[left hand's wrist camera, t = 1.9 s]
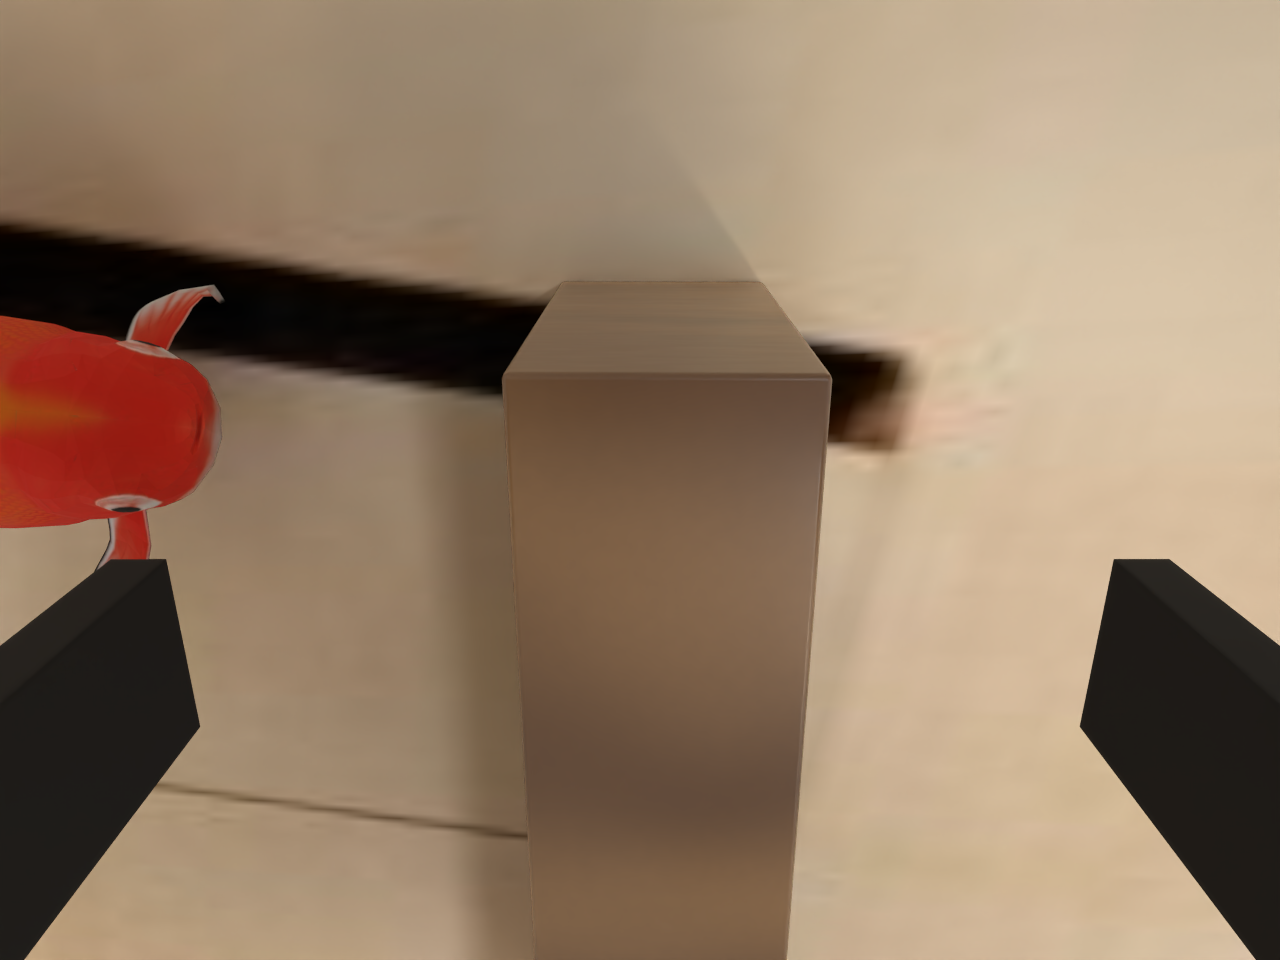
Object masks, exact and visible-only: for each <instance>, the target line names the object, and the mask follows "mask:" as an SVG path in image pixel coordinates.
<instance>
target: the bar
mask: <svg viewBox="0 0 1280 960" xmlns="http://www.w3.org/2000/svg"><path fill="white" fill-rule="evenodd" d="M502 387H503V405H504V423H505V441H506V458H507V476H508V494H509V512H510V530H511V548H512V566H513V583H514V601H515V619H516V637H517V655H518V673H519V690H520V708H521V726H522V744H523V762H524V780H525V797H526V815H527V833H528V851H529V869H530V887H531V905H532V922H533V940H534V958H535V960H787V949H788V936H789V923H790V911H791V898H792V885H793V872H794V859H795V847H796V834H797V821H798V808H799V796H800V783H801V770H802V757H803V744H804V732H805V719H806V706H807V693H808V681H809V668H810V655H811V642H812V629H813V617H814V604H815V591H816V578H817V566H818V553H819V540H820V527H821V514H822V502H823V489H824V476H825V463H826V451H827V438H828V425H829V412H830V399H831V387H832V378H831V375H830V374H829V372H828V371H827V370H826V368H825V367H824V365H823V364H822V363H821V361H820V360H819V359H818V357H817V356H816V355H815V353H814V352H813V351H812V349H811V348H810V347H809V345H808V344H807V342H806V341H805V340H804V338H803V337H802V336H801V334H800V333H799V332H798V330H797V329H796V328H795V326H794V325H793V324H792V322H791V321H790V320H789V318H788V317H787V315H786V314H785V313H784V311H783V310H782V309H781V307H780V306H779V305H778V303H777V302H776V301H775V299H774V298H773V297H772V295H771V294H770V292H769V291H768V290H767V288H766V287H765V286H764V284H763V283H761V282H563V283H561V285H560V286H559V288H558V290H557V291H556V293H555V294H554V296H553V297H552V299H551V300H550V302H549V304H548V305H547V307H546V308H545V310H544V311H543V313H542V315H541V316H540V318H539V319H538V321H537V322H536V324H535V325H534V327H533V329H532V330H531V332H530V333H529V335H528V336H527V338H526V340H525V341H524V343H523V344H522V346H521V347H520V349H519V350H518V352H517V354H516V355H515V357H514V358H513V360H512V361H511V363H510V365H509V366H508V368H507V369H506V371H505V372H504V374H503V377H502Z"/></svg>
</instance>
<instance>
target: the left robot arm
mask: <svg viewBox="0 0 1280 960" xmlns="http://www.w3.org/2000/svg"><path fill="white" fill-rule="evenodd" d="M199 728H200V723H199V718H198V713H197V709H196V704H195V699H194V694H193V689H192V684H191V679H190V674H189V669H188V664H187V660H186V655H185V650H184V645H183V640H182V635H181V630H180V625H179V620H178V615H177V610H176V606H175V601H174V596H173V591H172V586H171V581H170V576H169V571H168V566H167V561H166V559H110V560H109V561H108V562H107V563H105V564H104V565H103V566H101V567H100V568H99V569H98V570H96V571H95V572H94V573H93V574H91V575H90V576H89V577H87V578H86V579H85V580H84V581H82V582H81V583H80V584H79V585H77V586H76V587H75V588H73V589H72V590H71V591H70V592H68V593H67V594H66V595H64V596H63V597H62V598H61V599H59V600H58V601H57V602H56V603H54V604H53V605H52V606H50V607H49V608H48V609H47V610H45V611H44V612H43V613H42V614H40V615H39V616H38V617H36V618H35V619H34V620H33V621H31V622H30V623H29V624H27V625H26V626H25V627H24V628H22V629H21V630H20V631H19V632H17V633H16V634H15V635H13V636H12V637H11V638H10V639H8V640H7V641H6V642H5V643H3V644H2V645H1V646H0V960H24V959H25V958H26V957H27V955H28V954H29V953H30V951H31V950H32V949H33V947H34V946H35V945H36V943H37V942H38V941H39V939H40V938H41V937H42V935H43V934H44V933H45V931H46V930H47V929H48V927H49V926H50V925H51V923H52V922H53V921H54V919H55V918H56V917H57V916H58V914H59V913H60V912H61V910H62V909H63V908H64V906H65V905H66V904H67V902H68V901H69V900H70V898H71V897H72V896H73V894H74V893H75V892H76V890H77V889H78V888H79V886H80V885H81V884H82V882H83V881H84V880H85V878H86V877H87V876H88V874H89V873H90V872H91V870H92V869H93V868H94V867H95V865H96V864H97V863H98V861H99V860H100V859H101V857H102V856H103V855H104V853H105V852H106V851H107V849H108V848H109V847H110V845H111V844H112V843H113V841H114V840H115V839H116V837H117V836H118V835H119V833H120V832H121V831H122V829H123V828H124V827H125V825H126V824H127V823H128V822H129V820H130V819H131V818H132V816H133V815H134V814H135V812H136V811H137V810H138V808H139V807H140V806H141V804H142V803H143V802H144V800H145V799H146V798H147V796H148V795H149V794H150V792H151V791H152V790H153V788H154V787H155V786H156V784H157V783H158V782H159V780H160V779H161V778H162V777H163V775H164V774H165V773H166V771H167V770H168V769H169V767H170V766H171V765H172V763H173V762H174V761H175V759H176V758H177V757H178V755H179V754H180V753H181V751H182V750H183V749H184V747H185V746H186V745H187V743H188V742H189V741H190V739H191V738H192V737H193V735H194V734H195V733H196V731H197V730H198V729H199ZM1080 728H1081V729H1082V730H1083V731H1084V733H1085V734H1086V735H1087V737H1088V738H1089V739H1090V741H1091V742H1092V743H1093V745H1094V746H1095V747H1096V749H1097V750H1098V751H1099V753H1100V754H1101V755H1102V757H1103V758H1104V759H1105V761H1106V762H1107V763H1108V765H1109V766H1110V767H1111V769H1112V770H1113V771H1114V773H1115V774H1116V775H1117V777H1118V778H1119V779H1120V780H1121V782H1122V783H1123V784H1124V786H1125V787H1126V788H1127V790H1128V791H1129V792H1130V794H1131V795H1132V796H1133V798H1134V799H1135V800H1136V802H1137V803H1138V804H1139V806H1140V807H1141V808H1142V810H1143V811H1144V812H1145V814H1146V815H1147V816H1148V818H1149V819H1150V820H1151V822H1152V823H1153V824H1154V825H1155V827H1156V828H1157V829H1158V831H1159V832H1160V833H1161V835H1162V836H1163V837H1164V839H1165V840H1166V841H1167V843H1168V844H1169V845H1170V847H1171V848H1172V849H1173V851H1174V852H1175V853H1176V855H1177V856H1178V857H1179V859H1180V860H1181V861H1182V863H1183V864H1184V865H1185V867H1186V868H1187V869H1188V870H1189V872H1190V873H1191V874H1192V876H1193V877H1194V878H1195V880H1196V881H1197V882H1198V884H1199V885H1200V886H1201V888H1202V889H1203V890H1204V892H1205V893H1206V894H1207V896H1208V897H1209V898H1210V900H1211V901H1212V902H1213V904H1214V905H1215V906H1216V908H1217V909H1218V910H1219V912H1220V913H1221V914H1222V916H1223V917H1224V918H1225V919H1226V921H1227V922H1228V923H1229V925H1230V926H1231V927H1232V929H1233V930H1234V931H1235V933H1236V934H1237V935H1238V937H1239V938H1240V939H1241V941H1242V942H1243V943H1244V945H1245V946H1246V947H1247V949H1248V950H1249V951H1250V953H1251V954H1252V955H1253V957H1254V958H1255V959H1256V960H1280V646H1279V645H1278V644H1277V643H1275V642H1274V641H1273V640H1272V639H1270V638H1269V637H1268V636H1267V635H1265V634H1264V633H1263V632H1261V631H1260V630H1259V629H1258V628H1256V627H1255V626H1254V625H1253V624H1251V623H1250V622H1249V621H1247V620H1246V619H1245V618H1244V617H1242V616H1241V615H1240V614H1238V613H1237V612H1236V611H1235V610H1233V609H1232V608H1231V607H1230V606H1228V605H1227V604H1226V603H1224V602H1223V601H1222V600H1221V599H1219V598H1218V597H1217V596H1216V595H1214V594H1213V593H1212V592H1210V591H1209V590H1208V589H1207V588H1205V587H1204V586H1203V585H1201V584H1200V583H1199V582H1198V581H1196V580H1195V579H1194V578H1193V577H1191V576H1190V575H1189V574H1187V573H1186V572H1185V571H1184V570H1182V569H1181V568H1180V567H1179V566H1177V565H1176V564H1175V563H1173V562H1172V561H1171V560H1170V559H1114V561H1113V566H1112V571H1111V576H1110V581H1109V586H1108V591H1107V596H1106V601H1105V606H1104V610H1103V615H1102V620H1101V625H1100V630H1099V635H1098V640H1097V645H1096V650H1095V655H1094V660H1093V664H1092V669H1091V674H1090V679H1089V684H1088V689H1087V694H1086V699H1085V704H1084V709H1083V713H1082V718H1081V723H1080Z"/></svg>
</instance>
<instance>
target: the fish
mask: <svg viewBox="0 0 1280 960" xmlns="http://www.w3.org/2000/svg"><path fill="white" fill-rule="evenodd" d="M203 296H213V297H214V298H215V299H216V300H217V301H218V302H219V303H223V302H225V300H224V298H223V297H222V295H221V294H220V292H219V291H218V289H217V288H216V287H215V285H208V286H202V287H196V288H189V289H183V290H178V291H176V292H173V293H171V294H169V295H166V296H164V297H162V298H159V299H157V300H154V301H152V302H150V303H149V304H147V305H145V306H144V307H142V308H141V309H140V310H139V311H137V312H136V314H135V316H134V317H133V319H132V321H131V324H130V326H129V329H128V332H127V335H126V338H125V341H121V342H120V341H118V340H115V339H112V338H110V337H107V336H102V335H95V334H89V333H83V332H76V331H73V330H71V329H68V328H65V327H62V326H59V325H56V324H51V323H45V322H39V321H32V320H26V319H19V318H13V317H6V316H0V528H25V527H42V526H59V525H70V524H75V523H80V522H83V521H86V520H89V519H106V518H108V523H109V529H110V541H109V544H108V546H107V549H106V551H105V553H104V555H103V557H102V558H101V560H100V562H99V564H98V566H97V567H96V569H95V571H96V570H98V569H99V568H100V567H101V566H103V565H104V564H105V563H107V562H108V561H109V560H110V559H149V556H150V550H151V541H150V533H149V526H148V520H147V513H146V510H147V509H150V508H156V507H162V506H166V505H168V504H171V503H173V502H176V501H178V500H181V499H183V498H184V497H186V496H188V495H189V494H191V493H193V492H194V491H195V489H196V488H197V487H198V485H199V484H200V482H201V481H202V480H203V478H204V477H205V476H206V474H207V473H208V472H209V470H210V469H211V468H212V466H213V465H214V462H215V459H216V455H217V452H218V449H219V446H220V443H221V439H222V426H221V409H220V406H219V404H218V402H217V400H216V397H215V395H214V393H213V391H212V389H211V387H210V385H209V383H208V380H207V379H206V378H205V377H204V376H203V375H202V374H201V373H200V372H199V371H198V370H197V369H196V368H195V367H193V366H192V365H191V364H189V363H188V362H186V361H184V360H182V359H180V358H178V357H176V356H175V355H173V354H172V353H170V352H168V349H169V347H170V345H171V343H172V341H173V339H174V337H175V335H176V333H177V332H178V331H179V329H180V328H181V326H182V325H183V323H184V322H185V320H186V318H187V317H188V315H189V313H190V312H191V310H192V308H193V307H194V306H195V305H196V304H197V303H198V302H199V301H200V300H201V298H202V297H203ZM95 571H94V572H95Z"/></svg>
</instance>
